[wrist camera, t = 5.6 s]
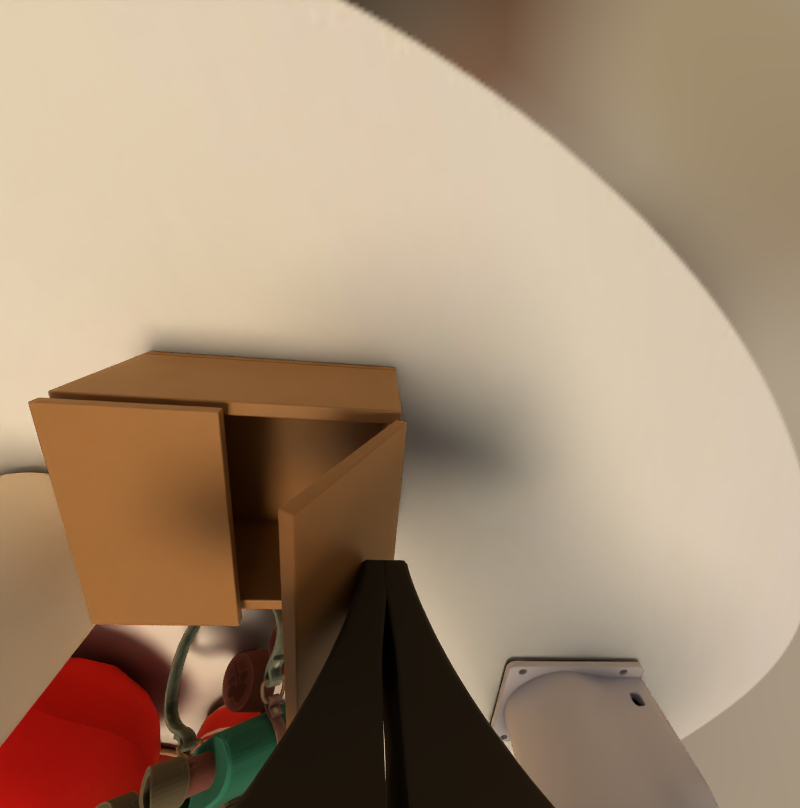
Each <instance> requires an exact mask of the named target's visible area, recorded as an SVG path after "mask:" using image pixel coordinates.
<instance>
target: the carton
mask: <svg viewBox="0 0 800 808" xmlns="http://www.w3.org/2000/svg"><path fill="white" fill-rule="evenodd" d="M48 393H49V397H50V398H37V399H34V400H32V401H29V402H28V404H29V407H30V411H31V414H32V418H33V421H34V425H35V428H36V432H37V435H38V438H39V442H40V445H41V449H42V452H43V456H44V459H45V463H46V466H47V470H48V473H49V477H50V480H51V484H52V487H53V491H54V494H55V498H56V501H57V505H58V508H59V512H60V515H61V518H62V522H63V525H64V529H65V532H66V536H67V539H68V543H69V546H70V550H71V553H72V557H73V560H74V564H75V567H76V571H77V574H78V578H79V581H80V585H81V588H82V592H83V595H84V598H85V602H86V605H87V609H88V612H89V616H90V619H91V623H92V624H112V625H188V626H239V624H240V622H241V619H242V612H241V609H282V600H281V574H280V549H279V524H278V509H279V508H280V507H281V506H283V505H284V504H285V503H287V502H288V501H289V500H291V499H292V498H293V497H295V496H296V495H297V494H299V493H300V492H301V491H303V490H304V489H305V488H307V487H308V486H309V485H311V484H312V483H313V482H315V481H316V480H317V479H319V478H320V477H321V476H323V475H324V474H325V473H327V472H328V471H329V470H331V469H332V468H333V467H335V466H336V465H337V464H339V463H340V462H341V461H342V460H344V459H345V458H346V457H348V456H349V455H350V454H352V453H353V452H354V451H356V450H357V449H358V448H360V447H361V446H362V445H364V444H365V443H366V442H368V441H369V440H370V439H372V438H373V437H374V436H376V435H377V434H378V433H380V432H381V431H382V430H384V429H385V428H386V427H388V426H389V425H390V424H392V423H393V422H394V421H396V420H399V421H401V416H402V410H401V403H400V397H399V390H398V383H397V376H396V369H395V368H394V367H379V366H364V365H349V364H334V363H319V362H304V361H289V360H274V359H259V358H244V357H229V356H214V355H199V354H184V353H169V352H154V351H149V352H147V353H144V354H142V355H139V356H137V357H134V358H131V359H129V360H126V361H124V362H121V363H119V364H116V365H114V366H111V367H109V368H106V369H103V370H101V371H98V372H96V373H93V374H91V375H88V376H86V377H83V378H81V379H78V380H75V381H73V382H70V383H68V384H65V385H63V386H60V387H58V388H55V389H52V390H50V391H49V392H48Z"/></svg>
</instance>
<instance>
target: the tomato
mask: <svg viewBox="0 0 800 808" xmlns="http://www.w3.org/2000/svg"><path fill="white" fill-rule="evenodd" d="M160 750H161V741H160V724H159V715H158V712H157V710H156V708H155V706H154V704H153V702H152V700H151V698H150V696H149V694H148V692H147V691H145V690H144V689H143V688H142V687H141V686H139V685H138V684H137V683H136V682H135V681H133V680H132V679H131V678H130V677H129V676H128V675H126V674H125V673H124V672H123V671H122V670H120V669H119V668H118V667H117V666H114V665H110V664H106V663H102V662H98V661H93V660H89V659H85V658H81V657H70V658H69V660H68V661H67V662H66V663H65V665H64V666H63V667H62V669H61V670H60V671H59V672H58V674H57V675H56V676H55V678H54V679H53V680H52V681H51V683H50V684H49V685H48V687H47V688H46V689H45V690H44V692H43V693H42V694H41V695H40V697H39V698H38V699H37V701H36V702H35V703H34V704H33V706H32V707H31V708H30V710H29V711H28V712H27V713H26V715H25V716H24V717H23V719H22V720H21V721H20V722H19V724H18V725H17V726H16V727H15V729H14V730H13V731H12V733H11V734H10V735H9V736H8V738H7V739H6V740H5V742H4V743H3V744H2V745H1V747H0V808H95V807H96V806H98V805H99V804H101V803H103V802H105V801H108V800H110V799H113V798H116V797H118V796H121V795H124V794H126V793H129V792H131V791H135V792H137V794H139V793H140V789H141V785H142V781H143V778H144V775H145V772H146V770H147V768H148V767H149V766H152V765H155V764H157V763H158V760H159V755H160Z"/></svg>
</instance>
